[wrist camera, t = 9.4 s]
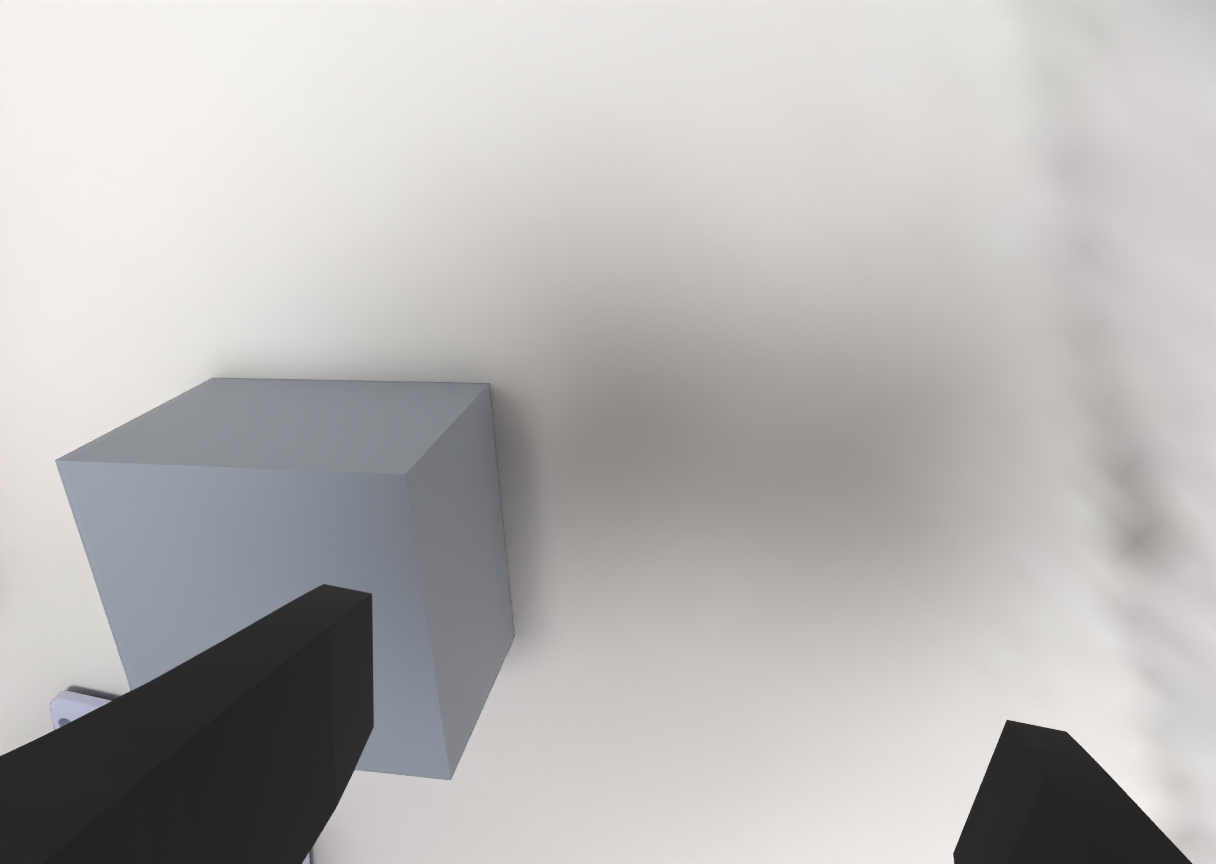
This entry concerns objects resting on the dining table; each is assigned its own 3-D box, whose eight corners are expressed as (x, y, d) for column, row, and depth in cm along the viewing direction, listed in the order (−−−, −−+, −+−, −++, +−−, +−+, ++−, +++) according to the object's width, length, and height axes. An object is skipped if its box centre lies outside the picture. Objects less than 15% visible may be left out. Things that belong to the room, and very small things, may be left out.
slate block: (516, 632, 21) (450, 779, 17) (273, 615, 22) (150, 747, 18) (491, 380, 19) (404, 474, 14) (216, 375, 20) (55, 460, 15)
